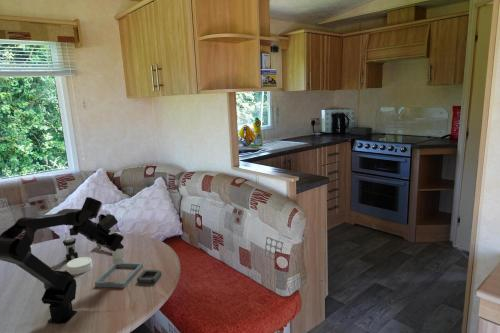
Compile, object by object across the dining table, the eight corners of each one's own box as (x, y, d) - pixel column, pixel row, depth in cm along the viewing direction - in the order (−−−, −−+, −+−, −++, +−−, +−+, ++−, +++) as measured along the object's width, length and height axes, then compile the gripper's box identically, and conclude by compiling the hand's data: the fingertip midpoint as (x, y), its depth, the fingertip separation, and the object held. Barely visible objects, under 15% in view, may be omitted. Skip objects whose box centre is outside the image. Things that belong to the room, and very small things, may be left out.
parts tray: (124, 289, 132) (124, 283, 131) (95, 288, 134) (94, 282, 133) (143, 268, 147) (142, 263, 147) (116, 267, 149) (116, 262, 149)
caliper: (96, 247, 171) (95, 235, 169) (99, 246, 172) (97, 234, 170) (121, 257, 159) (119, 245, 158) (123, 256, 160) (121, 244, 158)
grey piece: (154, 287, 132) (153, 281, 132) (134, 287, 133) (133, 280, 133) (164, 274, 142) (163, 268, 141) (145, 273, 143) (145, 268, 142)
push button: (63, 263, 155) (60, 243, 152) (61, 259, 159) (58, 239, 157) (79, 259, 159) (76, 238, 156) (77, 255, 163) (74, 235, 161)
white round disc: (80, 276, 143) (78, 268, 142) (61, 273, 146) (60, 265, 146) (97, 265, 152) (96, 257, 152) (79, 262, 156) (78, 255, 155)
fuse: (121, 264, 137) (117, 236, 134) (111, 264, 137) (107, 236, 135) (126, 259, 141) (123, 232, 138) (116, 259, 141) (113, 231, 139)
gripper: (115, 214, 125) (144, 233, 136) (90, 206, 137) (118, 223, 148) (97, 242, 121) (129, 259, 132) (72, 231, 132) (103, 247, 143)
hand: (120, 246), depth 139 cm, fingers closed on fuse, 4 cm apart
